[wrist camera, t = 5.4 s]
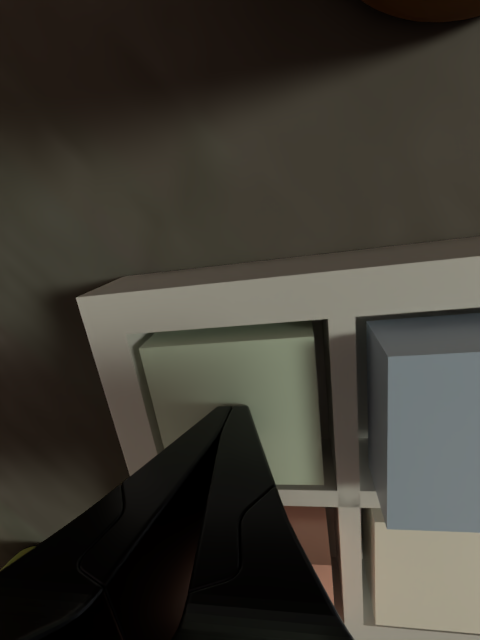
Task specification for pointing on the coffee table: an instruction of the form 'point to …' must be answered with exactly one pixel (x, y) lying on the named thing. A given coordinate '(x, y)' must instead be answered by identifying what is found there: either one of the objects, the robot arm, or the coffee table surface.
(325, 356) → the keypad
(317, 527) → the key coral
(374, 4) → the mug
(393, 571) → the key cream
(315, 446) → the key sage
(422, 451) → the key slate
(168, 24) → the coffee table surface
